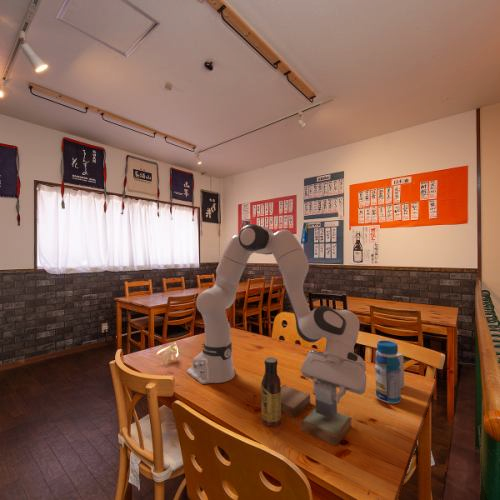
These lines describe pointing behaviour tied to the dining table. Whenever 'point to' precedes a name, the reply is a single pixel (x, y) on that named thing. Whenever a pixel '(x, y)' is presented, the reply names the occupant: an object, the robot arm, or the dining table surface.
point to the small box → (400, 357)
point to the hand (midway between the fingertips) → (325, 398)
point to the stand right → (326, 426)
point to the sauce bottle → (271, 394)
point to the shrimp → (171, 348)
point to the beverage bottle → (388, 372)
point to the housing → (325, 399)
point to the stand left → (293, 401)
